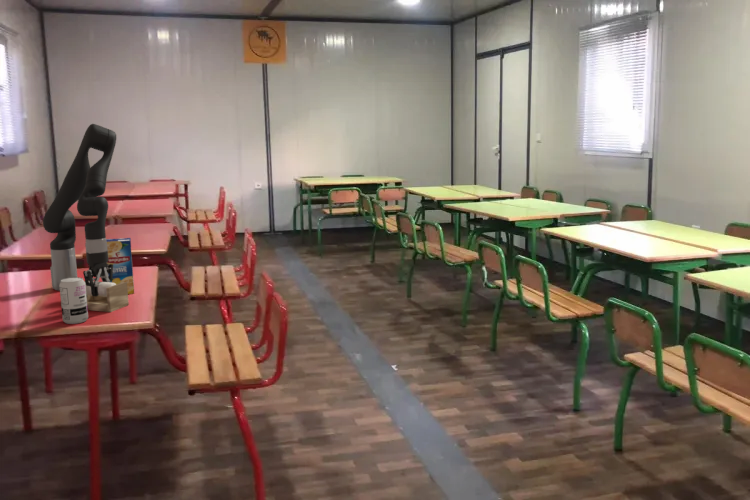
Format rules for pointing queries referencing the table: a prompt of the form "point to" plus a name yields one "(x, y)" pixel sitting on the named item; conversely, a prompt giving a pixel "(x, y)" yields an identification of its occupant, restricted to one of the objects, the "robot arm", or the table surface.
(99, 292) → the paper roll
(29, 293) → the table surface
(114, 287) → the roll holder
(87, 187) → the robot arm
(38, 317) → the table surface
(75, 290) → the supplement can
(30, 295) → the table surface
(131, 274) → the beverage box
